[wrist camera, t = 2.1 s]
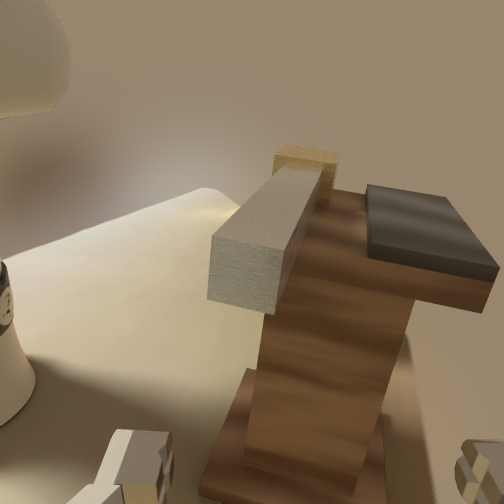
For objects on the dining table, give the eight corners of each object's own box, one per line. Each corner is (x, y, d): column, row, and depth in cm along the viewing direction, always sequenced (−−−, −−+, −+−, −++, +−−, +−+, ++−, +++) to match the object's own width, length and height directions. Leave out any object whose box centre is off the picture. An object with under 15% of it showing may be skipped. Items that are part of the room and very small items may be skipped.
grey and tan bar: (297, 320, 17) (311, 243, 16) (185, 294, 18) (189, 219, 16) (333, 190, 38) (340, 153, 37) (281, 181, 39) (287, 144, 38)
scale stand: (384, 555, 33) (499, 267, 22) (198, 494, 36) (224, 214, 25) (377, 412, 47) (445, 197, 37) (245, 377, 50) (274, 168, 40)
